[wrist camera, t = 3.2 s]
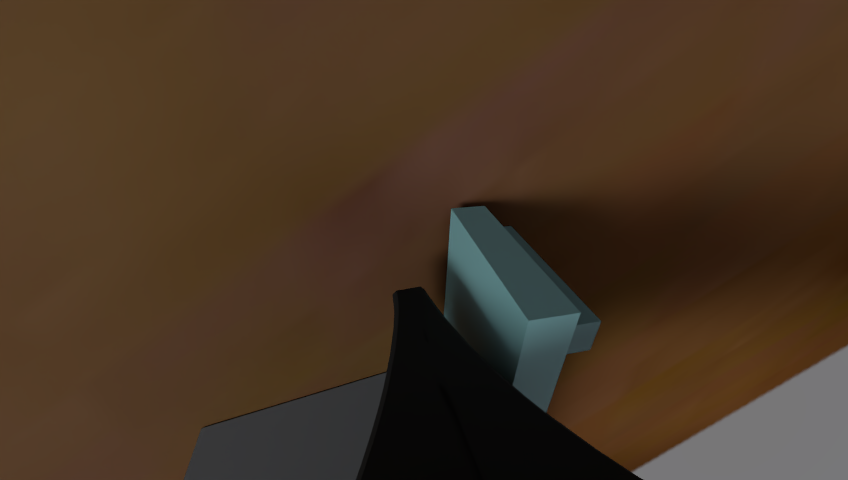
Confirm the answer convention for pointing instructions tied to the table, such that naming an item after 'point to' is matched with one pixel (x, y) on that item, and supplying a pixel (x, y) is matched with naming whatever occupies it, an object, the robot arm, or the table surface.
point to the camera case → (293, 438)
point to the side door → (512, 304)
